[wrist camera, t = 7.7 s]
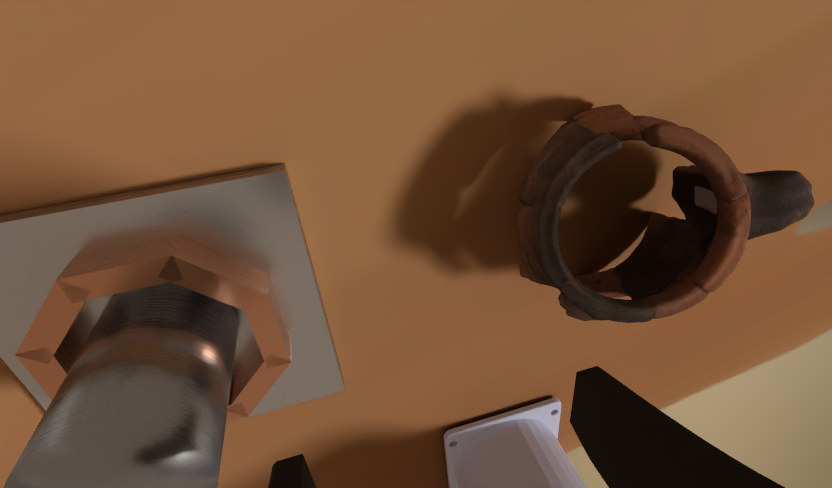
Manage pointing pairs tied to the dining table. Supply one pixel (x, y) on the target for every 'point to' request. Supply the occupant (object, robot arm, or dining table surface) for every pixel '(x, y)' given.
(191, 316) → the grey cylinder
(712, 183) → the pottery mug
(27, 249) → the flange plate
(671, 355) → the dining table surface
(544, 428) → the robot arm
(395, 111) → the dining table surface
